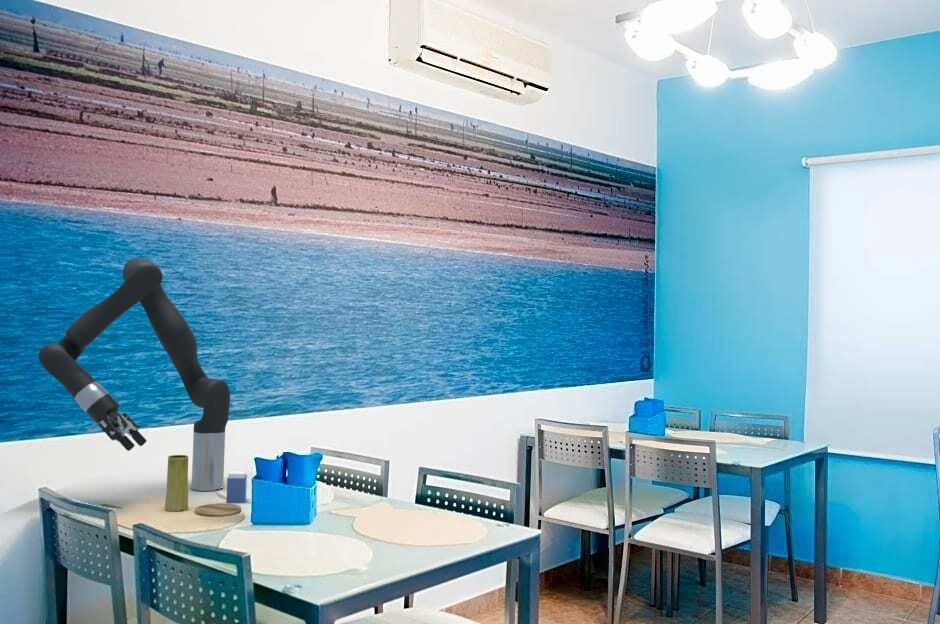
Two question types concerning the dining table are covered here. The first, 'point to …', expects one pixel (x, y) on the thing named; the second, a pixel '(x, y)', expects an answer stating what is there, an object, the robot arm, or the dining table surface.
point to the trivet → (217, 509)
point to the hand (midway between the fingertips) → (138, 446)
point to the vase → (177, 483)
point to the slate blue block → (236, 487)
